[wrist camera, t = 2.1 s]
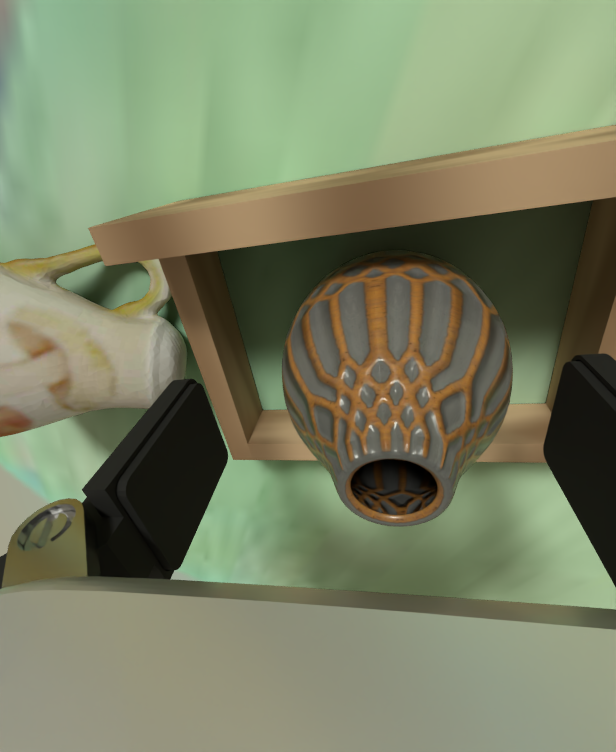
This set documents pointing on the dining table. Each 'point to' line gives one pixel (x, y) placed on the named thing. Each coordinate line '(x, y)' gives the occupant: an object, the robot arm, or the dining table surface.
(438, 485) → the vase
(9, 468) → the dining table surface
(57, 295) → the mug
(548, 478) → the dining table surface
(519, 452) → the wooden frame
